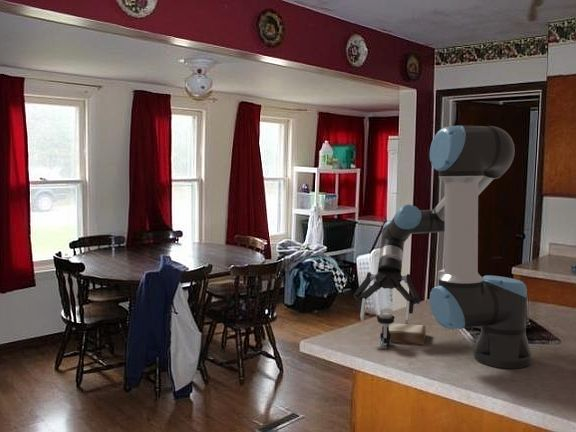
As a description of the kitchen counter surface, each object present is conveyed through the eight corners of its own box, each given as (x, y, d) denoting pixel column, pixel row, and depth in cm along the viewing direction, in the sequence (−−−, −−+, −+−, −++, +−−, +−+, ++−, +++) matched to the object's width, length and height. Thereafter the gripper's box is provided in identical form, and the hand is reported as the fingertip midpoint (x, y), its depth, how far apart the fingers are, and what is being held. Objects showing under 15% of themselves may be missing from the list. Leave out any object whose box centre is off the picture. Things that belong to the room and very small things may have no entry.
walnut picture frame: (425, 334, 184) (425, 324, 184) (423, 344, 175) (423, 333, 175) (387, 331, 188) (387, 322, 188) (384, 341, 178) (384, 330, 178)
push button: (393, 350, 169) (393, 317, 168) (375, 349, 171) (375, 316, 170) (394, 343, 176) (395, 311, 175) (377, 342, 177) (377, 310, 176)
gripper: (430, 271, 186) (426, 329, 173) (353, 267, 193) (345, 323, 181) (429, 257, 181) (425, 317, 168) (350, 254, 188) (341, 311, 175)
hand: (384, 320), depth 174 cm, fingers open, 13 cm apart
